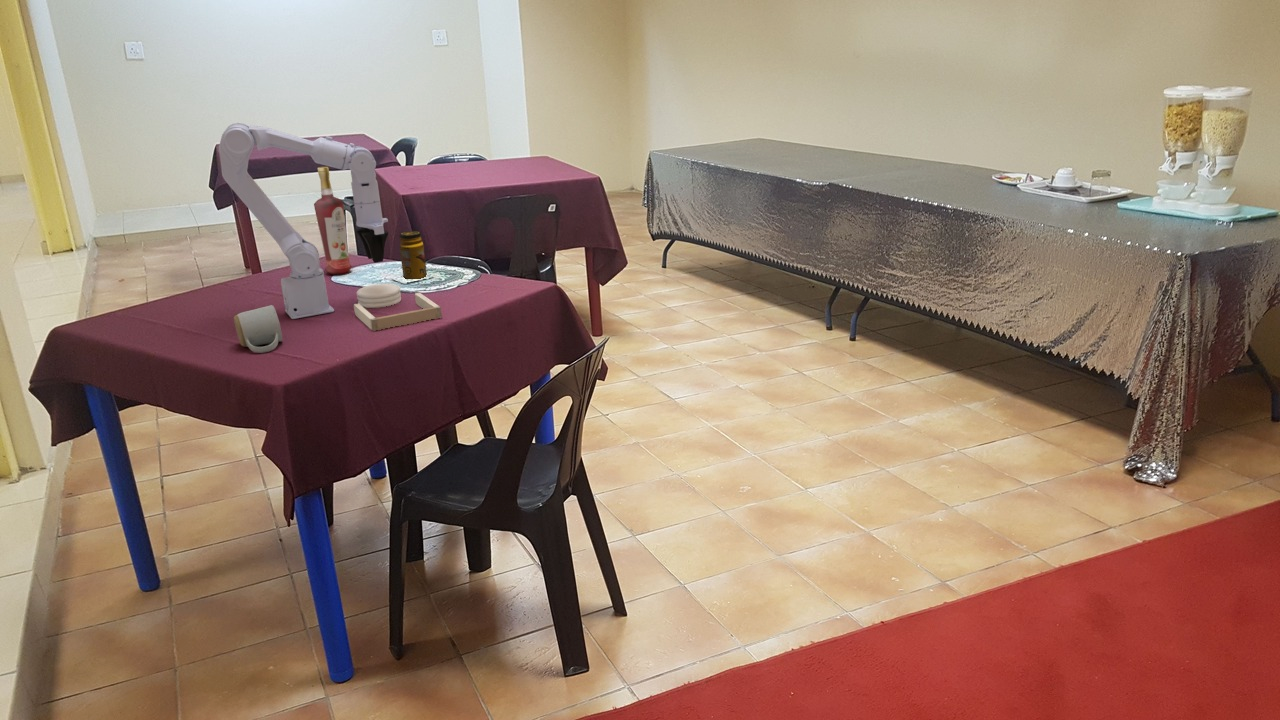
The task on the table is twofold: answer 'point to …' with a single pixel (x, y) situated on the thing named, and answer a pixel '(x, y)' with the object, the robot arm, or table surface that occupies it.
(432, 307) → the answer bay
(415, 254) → the condiment
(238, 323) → the ceramic mug
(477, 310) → the table surface
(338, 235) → the liquor
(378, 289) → the coaster
